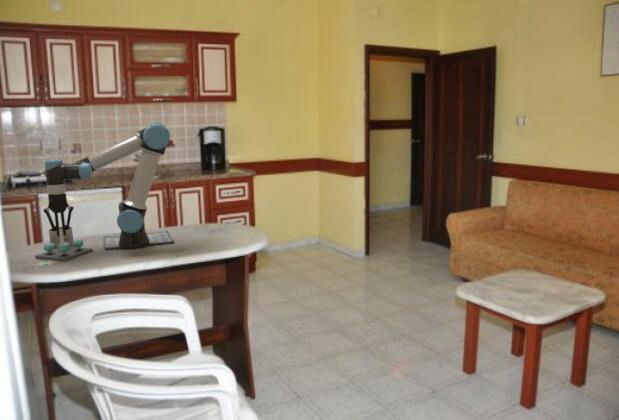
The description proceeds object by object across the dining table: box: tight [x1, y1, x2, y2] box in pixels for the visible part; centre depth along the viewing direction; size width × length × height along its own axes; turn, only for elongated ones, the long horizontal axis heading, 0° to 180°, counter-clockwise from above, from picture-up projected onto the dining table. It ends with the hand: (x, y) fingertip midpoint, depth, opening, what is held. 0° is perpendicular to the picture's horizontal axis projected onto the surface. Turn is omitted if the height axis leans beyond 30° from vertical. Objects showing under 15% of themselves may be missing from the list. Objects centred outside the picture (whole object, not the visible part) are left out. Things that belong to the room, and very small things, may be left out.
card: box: [31, 260, 60, 268], centre depth 238 cm, size 8×8×1 cm
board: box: [34, 246, 94, 263], centre depth 251 cm, size 18×18×2 cm
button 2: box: [58, 244, 69, 254], centre depth 245 cm, size 5×5×4 cm
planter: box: [48, 226, 74, 249], centre depth 266 cm, size 11×11×10 cm
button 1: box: [72, 239, 84, 249], centre depth 253 cm, size 5×5×4 cm
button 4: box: [43, 242, 55, 253], centre depth 248 cm, size 5×5×4 cm
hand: (62, 242), depth 244 cm, fingers closed
